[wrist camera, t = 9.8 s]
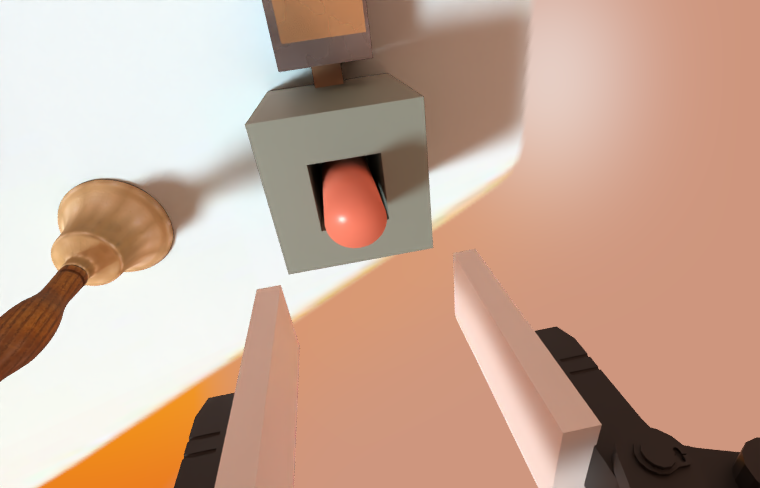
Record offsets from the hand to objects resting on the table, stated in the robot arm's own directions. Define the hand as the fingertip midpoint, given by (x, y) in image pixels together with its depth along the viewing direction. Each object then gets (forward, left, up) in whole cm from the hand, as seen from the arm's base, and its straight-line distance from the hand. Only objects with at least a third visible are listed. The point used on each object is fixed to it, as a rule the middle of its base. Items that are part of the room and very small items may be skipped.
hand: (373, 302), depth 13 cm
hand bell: (+4, -19, -21) cm, 29 cm away
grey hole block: (0, 0, -21) cm, 21 cm away
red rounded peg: (0, 0, -14) cm, 14 cm away
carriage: (-10, 0, -21) cm, 23 cm away
